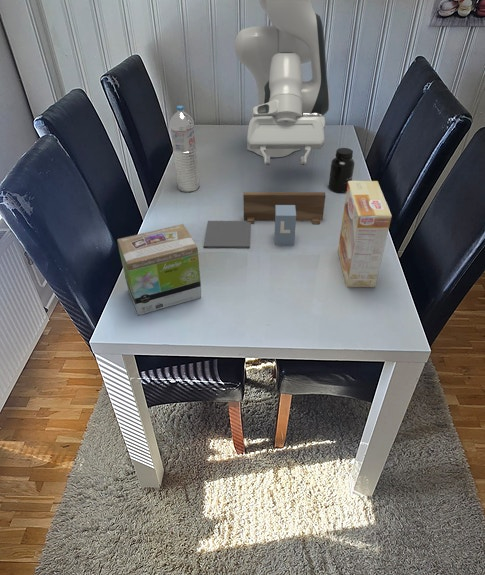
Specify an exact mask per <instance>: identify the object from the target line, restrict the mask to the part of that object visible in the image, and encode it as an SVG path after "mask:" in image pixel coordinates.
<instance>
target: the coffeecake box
mask: <svg viewBox="0 0 485 575" xmlns="http://www.w3.org/2000/svg"><path fill="white" fill-rule="evenodd" d="M345 193H346V194H345V202H344V207H343V214H342V218H341V219H342V220H341V225H340V227H341V228H340V235H339V240H338V247H337V253H338V257H339V261H340V266H341V270H342V274H343V279H344V283H345V287H346V288H375V287H376V285H377V281H378V277H379V272H380V268H381V264H382V259H383V255H384V252H385V247H386V242H387V237H388V234H389V229H390V224H391V222H392V217H393V216H392V213H391V211H390V207H389V205H388V202H387V201H386V199H385V196H384V193H383V191H382V189H381V186H380V184H379V181H378V180H352V181H348V185H347V192H345Z"/></svg>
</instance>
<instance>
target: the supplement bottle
mask: <svg viewBox="0 0 485 575" xmlns="http://www.w3.org/2000/svg"><path fill="white" fill-rule="evenodd" d="M335 152H336V153H335V157H334V158H333V159H332V160H331V163H330V164H331V165H330V171H329V172H330V173H329V178H328V189H330V190H331V191H333V192H335V193H339V194H340V193H346V192H347V185H348V181H353V175H354V170H355V161H354V159H353V154H354V151H353V150H352V149H351V148H348V147H339V148H337V149H336V151H335Z"/></svg>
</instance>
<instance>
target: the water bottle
mask: <svg viewBox="0 0 485 575" xmlns="http://www.w3.org/2000/svg"><path fill="white" fill-rule="evenodd" d="M184 107H185V106H183V105H181V104H180V105H177V106H176V110H177V111H176V112H175V113H174V114H173V115H172V116H171V119H170V120H169V128H170V132H171V141H172V153H173V161H174V166H175V176H176V184H177V188H178V190H179V191H181V192H184V193H192V192H195V191H196V190H199V187H200V179H199V178H200V176H199V166H198V154H197V147H196V137H195V122H194V119H193V117H192V116H191V115H190V114H188V112H186V111H184V110H185V109H184Z"/></svg>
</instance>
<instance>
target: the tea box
mask: <svg viewBox="0 0 485 575" xmlns="http://www.w3.org/2000/svg"><path fill="white" fill-rule="evenodd" d="M117 247H118V252H119V255H120V260H121V265H122V269H123V273H124V277H125V278H124V279H125V282H126V286H127V290H128V292H129V296H130V298H131V299H132V302H133V305H134V307H135V310H136V312H137V316H141V315H143V314H147V313H151V312H154V311H158V310H161V309H162V310H163V309H165V308H169V307H171V306H172V307H173V306H175V305H179V304H182V303H186V302H190V301H194V300H197V299H201V298H202V283H201V274H200V273H201V272H200V271H201V270H200V262H199V249H198V248H199V247H198V246H197V245H196V243H195V241H194V239H193V238H192V236H191V234H190V232H189V231H188V230H187V228H186V226H185V224H183V223H181V224H176V225H173V226H170V227H164V228H159V229H156V230H151V231H146V232H143V233H139V234H134V235H133V234H132V235H129V236H125V237H120V238H118V239H117Z"/></svg>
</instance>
